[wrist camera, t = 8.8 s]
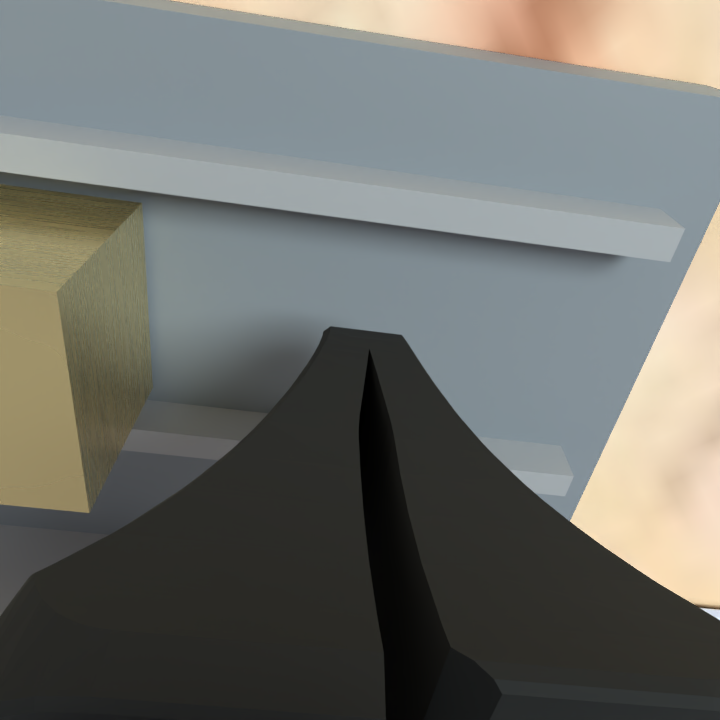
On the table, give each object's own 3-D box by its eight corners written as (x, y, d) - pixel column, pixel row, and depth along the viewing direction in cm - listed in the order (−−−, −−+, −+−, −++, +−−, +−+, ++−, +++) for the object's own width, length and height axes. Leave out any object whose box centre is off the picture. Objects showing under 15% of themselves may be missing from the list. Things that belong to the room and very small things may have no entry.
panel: (706, 85, 12) (869, 138, 8) (458, 683, 23) (477, 822, 19) (-301, -74, 10) (-678, -102, 6) (-36, 644, 21) (-119, 783, 18)
